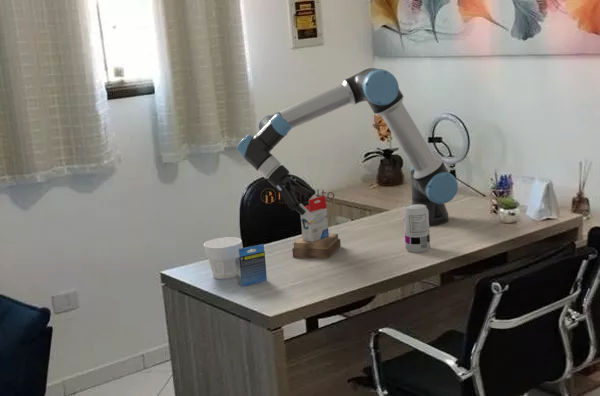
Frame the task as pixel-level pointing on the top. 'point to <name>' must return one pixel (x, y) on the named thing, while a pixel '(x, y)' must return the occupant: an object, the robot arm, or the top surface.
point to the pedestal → (316, 247)
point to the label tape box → (251, 266)
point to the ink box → (315, 220)
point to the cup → (223, 256)
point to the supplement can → (416, 228)
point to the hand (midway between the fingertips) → (318, 214)
